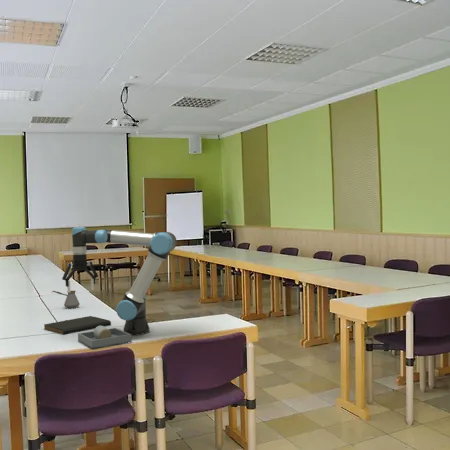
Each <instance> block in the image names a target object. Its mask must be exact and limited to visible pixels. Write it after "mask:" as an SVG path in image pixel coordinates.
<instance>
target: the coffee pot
mask: <svg viewBox="0 0 450 450" xmlns="http://www.w3.org/2000/svg"><path fill="white" fill-rule="evenodd" d="M66 292H67V294H66V293H62V292H60V291H56V290H52V291H51V294H53V293H55V294H57V295H63V296H66V299H65V301H64V303H63V306H64V307H65V308H66V309H67V308H68V309H69V310H70V309H71V308H73V309H76V307H77V308H78V307H79V306H80V302H79V301H80V300H78V297H77V295H76V292H77V291H76V290H70V293H69V292H68V290H67V291H66Z"/></svg>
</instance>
